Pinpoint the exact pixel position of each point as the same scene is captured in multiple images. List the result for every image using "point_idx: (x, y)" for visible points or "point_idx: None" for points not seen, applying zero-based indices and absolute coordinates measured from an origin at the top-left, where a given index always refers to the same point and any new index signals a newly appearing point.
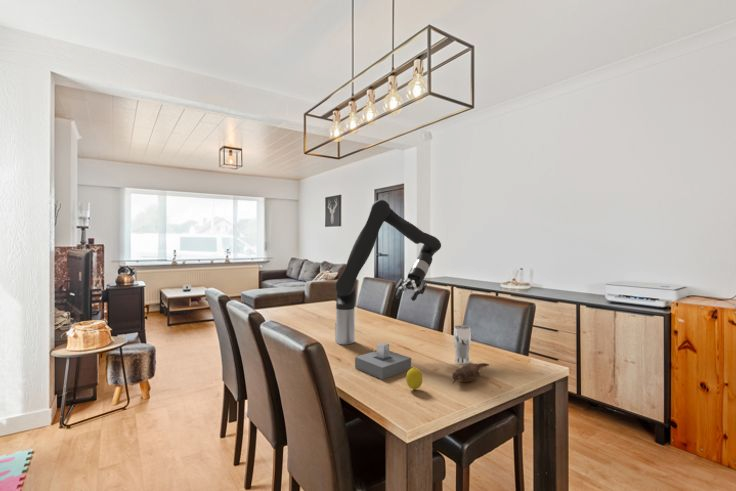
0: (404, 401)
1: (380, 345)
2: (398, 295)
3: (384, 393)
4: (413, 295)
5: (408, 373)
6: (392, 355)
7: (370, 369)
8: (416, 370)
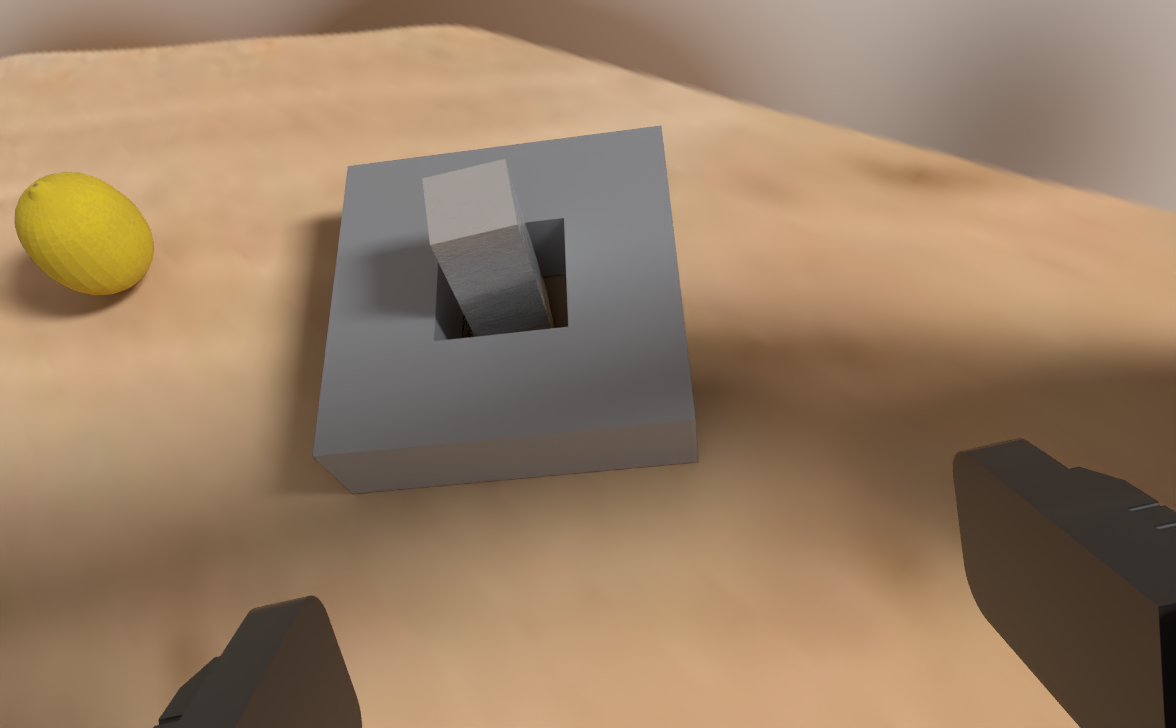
0: (110, 168)
1: (463, 171)
2: (1009, 559)
3: (245, 142)
4: (211, 673)
5: (84, 174)
6: (482, 368)
7: None
8: (23, 194)
